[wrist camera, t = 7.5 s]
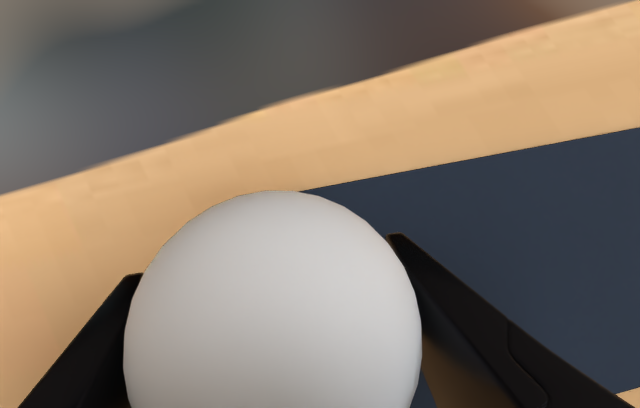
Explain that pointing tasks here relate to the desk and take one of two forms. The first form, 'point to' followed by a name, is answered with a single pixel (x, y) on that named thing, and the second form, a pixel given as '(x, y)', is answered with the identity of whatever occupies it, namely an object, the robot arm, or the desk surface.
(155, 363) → the white rounded smooth part
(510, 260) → the felt mat
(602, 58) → the desk surface
